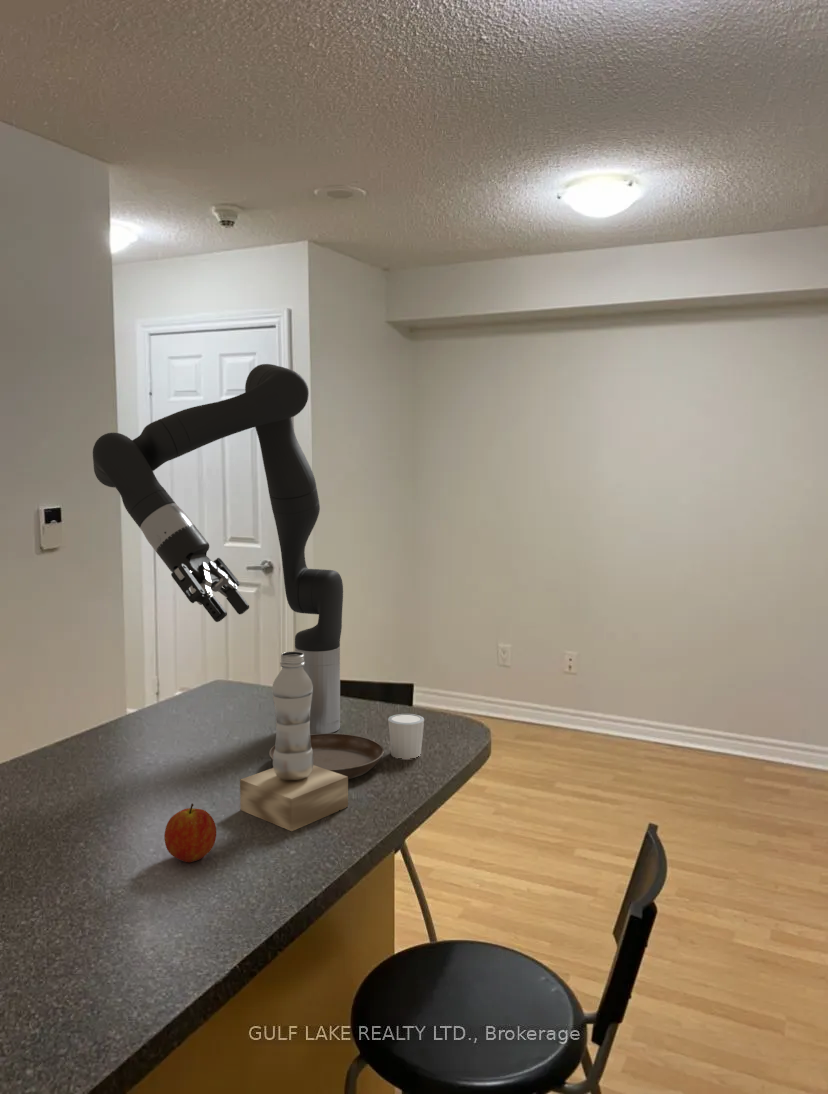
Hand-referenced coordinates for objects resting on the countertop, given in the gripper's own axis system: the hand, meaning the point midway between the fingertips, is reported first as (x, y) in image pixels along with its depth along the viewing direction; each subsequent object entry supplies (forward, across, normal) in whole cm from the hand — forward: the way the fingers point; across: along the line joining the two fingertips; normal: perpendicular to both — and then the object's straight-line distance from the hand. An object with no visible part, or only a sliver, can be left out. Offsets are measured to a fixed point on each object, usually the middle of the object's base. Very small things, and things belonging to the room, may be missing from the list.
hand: (234, 614), depth 137 cm
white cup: (+37, +26, +2) cm, 46 cm away
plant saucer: (+30, +17, +12) cm, 36 cm away
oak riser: (+30, -3, +11) cm, 32 cm away
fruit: (+26, -22, +17) cm, 38 cm away
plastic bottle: (+27, -3, +8) cm, 28 cm away
